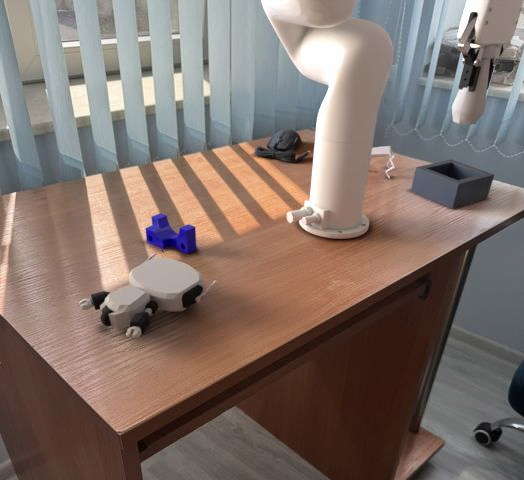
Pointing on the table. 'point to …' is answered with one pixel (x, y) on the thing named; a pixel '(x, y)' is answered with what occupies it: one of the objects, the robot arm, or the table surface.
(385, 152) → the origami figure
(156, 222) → the cable holder
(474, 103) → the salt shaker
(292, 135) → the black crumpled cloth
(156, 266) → the robot toy
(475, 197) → the holder
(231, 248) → the table surface
